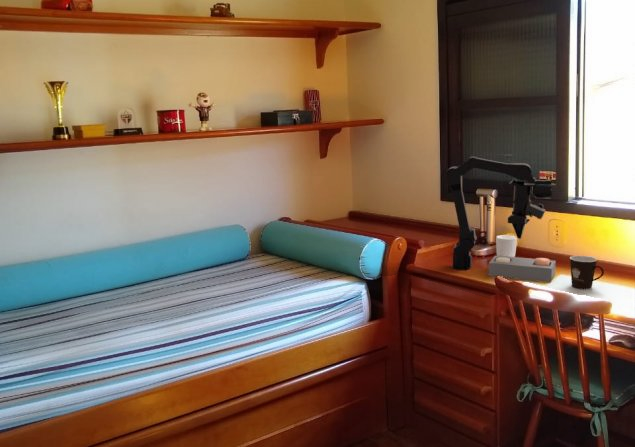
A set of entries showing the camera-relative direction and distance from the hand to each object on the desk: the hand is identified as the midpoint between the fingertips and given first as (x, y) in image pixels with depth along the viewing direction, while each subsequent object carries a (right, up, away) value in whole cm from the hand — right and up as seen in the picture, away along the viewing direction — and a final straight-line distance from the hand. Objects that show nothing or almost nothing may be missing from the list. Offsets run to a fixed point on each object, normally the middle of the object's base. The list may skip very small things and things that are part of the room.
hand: (519, 238), depth 241 cm
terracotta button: (+6, -12, -7) cm, 15 cm away
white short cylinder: (-6, -12, 0) cm, 14 cm away
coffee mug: (+16, -17, -21) cm, 31 cm away
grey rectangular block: (0, -13, -3) cm, 14 cm away
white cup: (0, -10, +17) cm, 19 cm away
